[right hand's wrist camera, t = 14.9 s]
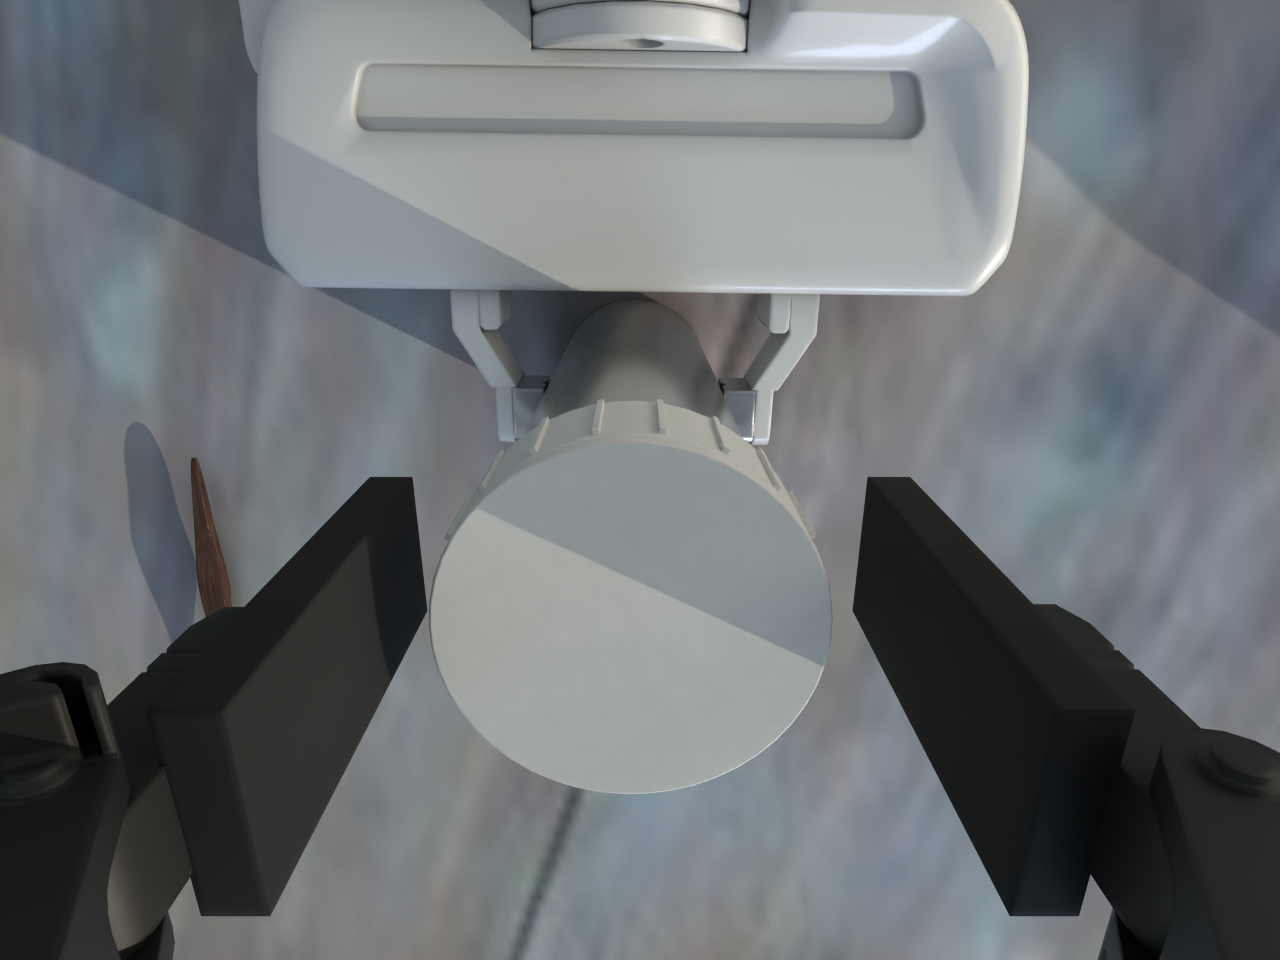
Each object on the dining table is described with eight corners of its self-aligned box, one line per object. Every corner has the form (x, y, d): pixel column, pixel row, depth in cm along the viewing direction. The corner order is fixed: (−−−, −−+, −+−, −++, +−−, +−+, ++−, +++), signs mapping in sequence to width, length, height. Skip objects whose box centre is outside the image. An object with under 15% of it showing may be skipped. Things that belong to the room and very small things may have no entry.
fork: (234, 455, 30) (207, 472, 28) (277, 777, 36) (257, 809, 34) (168, 452, 30) (136, 468, 28) (221, 774, 36) (198, 806, 34)
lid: (733, 740, 15) (750, 834, 13) (427, 660, 14) (388, 744, 12) (858, 458, 13) (903, 511, 11) (507, 348, 12) (479, 381, 10)
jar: (678, 454, 30) (734, 793, 13) (548, 414, 30) (422, 713, 12) (724, 324, 29) (861, 514, 11) (587, 279, 28) (504, 405, 11)
